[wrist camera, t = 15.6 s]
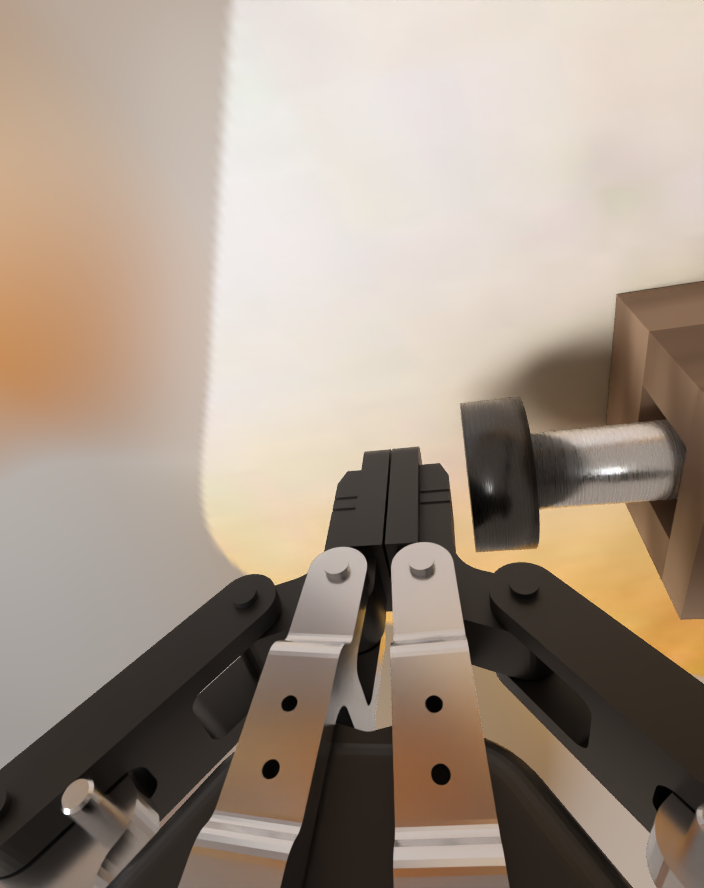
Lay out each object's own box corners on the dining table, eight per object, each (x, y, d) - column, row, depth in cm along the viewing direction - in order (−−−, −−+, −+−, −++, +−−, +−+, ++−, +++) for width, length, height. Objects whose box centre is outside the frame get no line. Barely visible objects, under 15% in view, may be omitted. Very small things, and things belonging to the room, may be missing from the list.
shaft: (457, 377, 15) (467, 463, 11) (853, 326, 13) (1002, 413, 9) (468, 486, 17) (479, 584, 14) (807, 456, 15) (914, 564, 12)
